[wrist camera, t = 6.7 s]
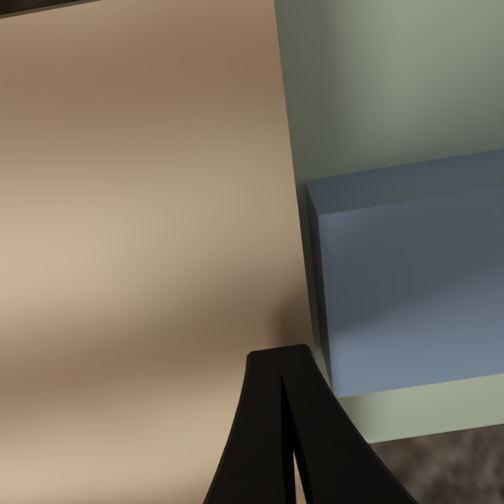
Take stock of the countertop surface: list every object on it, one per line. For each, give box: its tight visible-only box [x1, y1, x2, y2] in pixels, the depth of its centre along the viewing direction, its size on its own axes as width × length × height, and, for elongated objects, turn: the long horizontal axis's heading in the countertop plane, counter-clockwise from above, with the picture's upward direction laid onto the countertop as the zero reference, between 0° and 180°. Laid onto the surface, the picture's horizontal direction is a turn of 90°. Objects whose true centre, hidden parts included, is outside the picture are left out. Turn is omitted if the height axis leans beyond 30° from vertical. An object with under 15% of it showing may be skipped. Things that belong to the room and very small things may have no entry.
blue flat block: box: [305, 148, 504, 398], centre depth 13 cm, size 6×9×2 cm, turn 99°
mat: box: [274, 0, 504, 443], centre depth 14 cm, size 16×12×1 cm
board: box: [0, 0, 316, 504], centre depth 13 cm, size 16×13×3 cm
